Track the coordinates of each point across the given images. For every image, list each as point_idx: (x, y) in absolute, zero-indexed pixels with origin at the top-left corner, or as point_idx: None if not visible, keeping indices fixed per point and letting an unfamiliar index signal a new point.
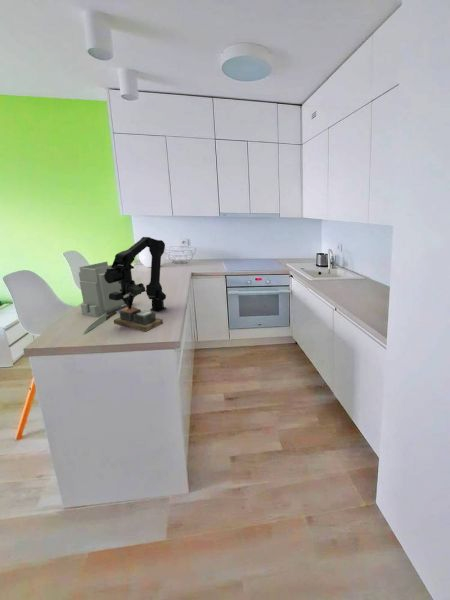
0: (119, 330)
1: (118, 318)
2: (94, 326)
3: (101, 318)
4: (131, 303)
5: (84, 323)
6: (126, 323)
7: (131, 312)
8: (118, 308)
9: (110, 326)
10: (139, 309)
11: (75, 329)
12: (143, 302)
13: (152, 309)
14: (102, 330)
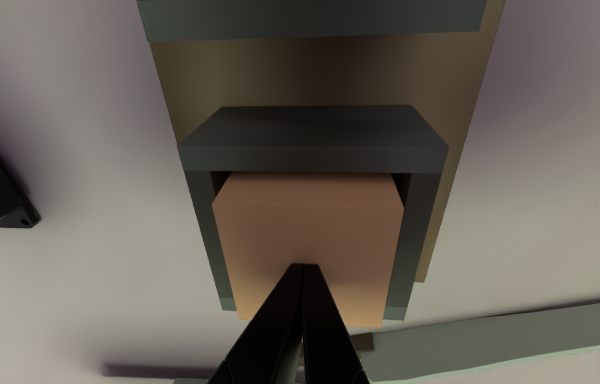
0: (573, 91)
1: None
2: (532, 317)
3: (436, 357)
4: (269, 339)
5: (471, 380)
6: (470, 111)
7: (354, 183)
8: (202, 379)
9: (481, 239)
10: (186, 170)
11: (579, 367)
12: (37, 341)
13: (18, 201)
14: (586, 232)
